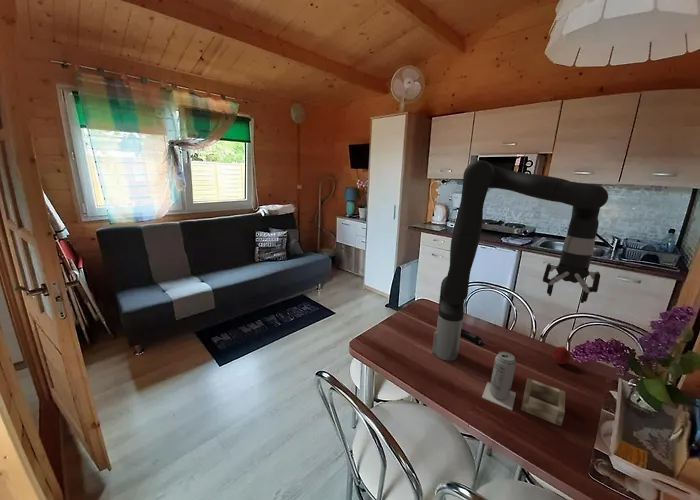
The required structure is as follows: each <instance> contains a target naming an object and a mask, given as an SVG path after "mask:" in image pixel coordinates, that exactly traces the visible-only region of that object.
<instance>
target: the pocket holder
mask: <svg viewBox="0 0 700 500" xmlns="http://www.w3.org/2000/svg"><path fill="white" fill-rule="evenodd" d="M520 410H521V411H523V412H525V413H527V414H530V415H532V416H534V417H538V418H540V419H542V420H544V421H548V422H549V423H551V424H555V425H557V426H559V427H562V424H563V421H564V417H565V415H566V414H565V413H566V391H565V390H563V389H559V388H556V387H554V386H551V385H549V384H545V383H543V382H540V381H536V379H535V380H534V379H531V378H529V377H527V379H526V382H525V388H524V392H523V396H522V400H521V407H520Z"/></svg>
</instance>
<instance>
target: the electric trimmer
mask: <svg viewBox="0 0 700 500" xmlns="http://www.w3.org/2000/svg"><path fill="white" fill-rule="evenodd" d="M460 337H464V338H466V339H468V340H470V341H471V342H473V343H475V345H477V346H480V345H483V339H482V338H481V337H480V336H478V335H476V334H474V333H471V332H470V331H468V330H465V328H464V329H463V328H462V329H461V335H460Z"/></svg>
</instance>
